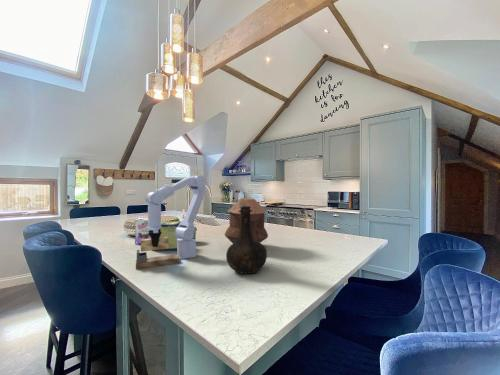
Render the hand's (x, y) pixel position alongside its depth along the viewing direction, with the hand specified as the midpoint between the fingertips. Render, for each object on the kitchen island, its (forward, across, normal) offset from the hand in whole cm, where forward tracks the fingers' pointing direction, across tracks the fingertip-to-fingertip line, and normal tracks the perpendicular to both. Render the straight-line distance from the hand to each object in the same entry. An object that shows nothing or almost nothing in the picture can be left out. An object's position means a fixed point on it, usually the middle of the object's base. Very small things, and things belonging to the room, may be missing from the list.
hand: (154, 245), depth 112 cm
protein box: (+9, -28, +9) cm, 31 cm away
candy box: (+9, -48, -2) cm, 49 cm away
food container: (+9, -36, +25) cm, 45 cm away
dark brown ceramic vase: (+9, +27, +36) cm, 46 cm away
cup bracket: (+6, 0, -6) cm, 9 cm away
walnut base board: (+9, 0, +1) cm, 9 cm away
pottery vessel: (+9, -6, +51) cm, 52 cm away
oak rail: (+2, 0, 0) cm, 2 cm away
